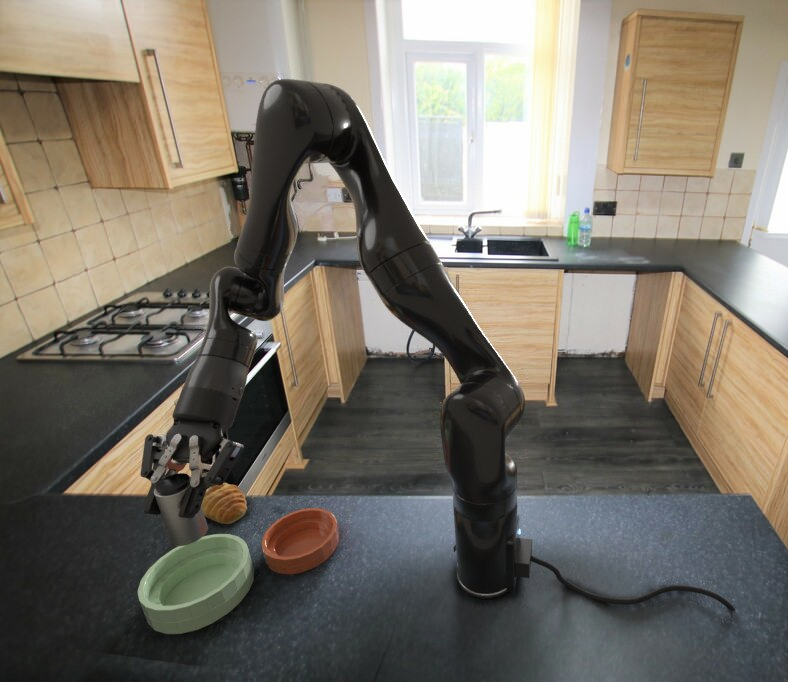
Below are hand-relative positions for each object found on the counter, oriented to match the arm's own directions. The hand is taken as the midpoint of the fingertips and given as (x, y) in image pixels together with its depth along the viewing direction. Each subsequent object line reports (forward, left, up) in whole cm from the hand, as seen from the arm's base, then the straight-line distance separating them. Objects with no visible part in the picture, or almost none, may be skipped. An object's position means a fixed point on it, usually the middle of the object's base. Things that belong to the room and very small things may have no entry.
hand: (169, 515), depth 62 cm
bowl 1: (0, -1, -16) cm, 16 cm away
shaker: (0, -2, -5) cm, 5 cm away
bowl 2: (-10, -11, -16) cm, 22 cm away
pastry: (+9, -18, -16) cm, 26 cm away
